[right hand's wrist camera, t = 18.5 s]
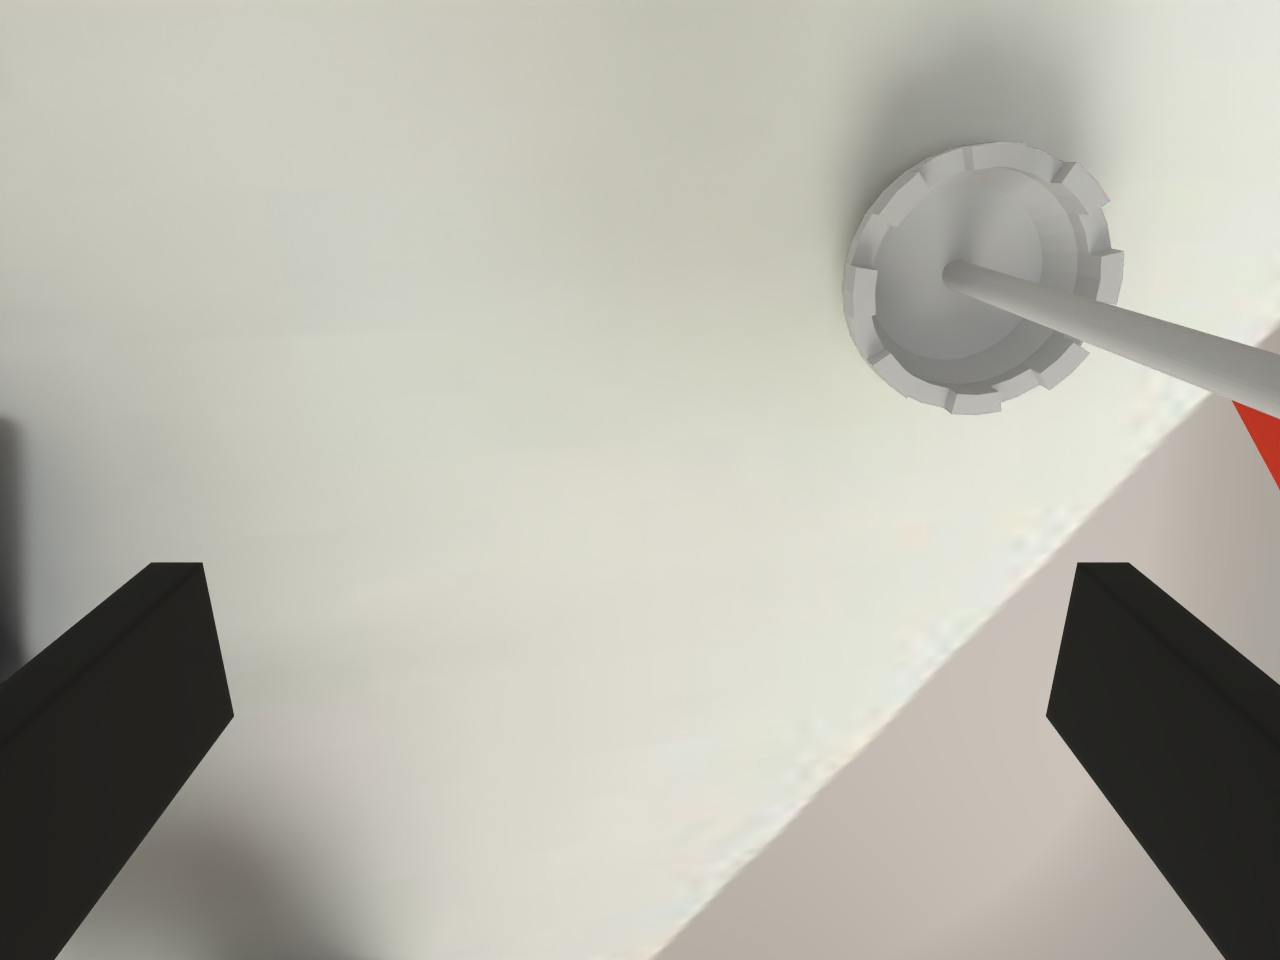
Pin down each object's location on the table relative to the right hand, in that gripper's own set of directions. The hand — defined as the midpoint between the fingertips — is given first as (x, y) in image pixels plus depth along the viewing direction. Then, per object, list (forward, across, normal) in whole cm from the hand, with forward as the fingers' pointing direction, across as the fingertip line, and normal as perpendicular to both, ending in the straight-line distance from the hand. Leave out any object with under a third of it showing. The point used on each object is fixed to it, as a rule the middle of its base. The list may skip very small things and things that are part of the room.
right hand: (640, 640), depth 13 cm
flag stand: (+36, +17, +1) cm, 40 cm away
